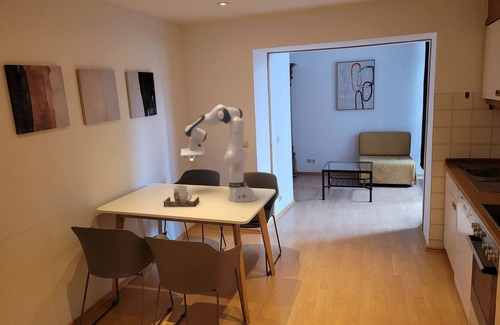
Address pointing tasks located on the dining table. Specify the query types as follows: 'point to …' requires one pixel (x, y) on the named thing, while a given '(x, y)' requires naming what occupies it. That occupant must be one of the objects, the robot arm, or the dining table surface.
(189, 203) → the tray
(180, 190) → the pitcher
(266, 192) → the dining table surface
